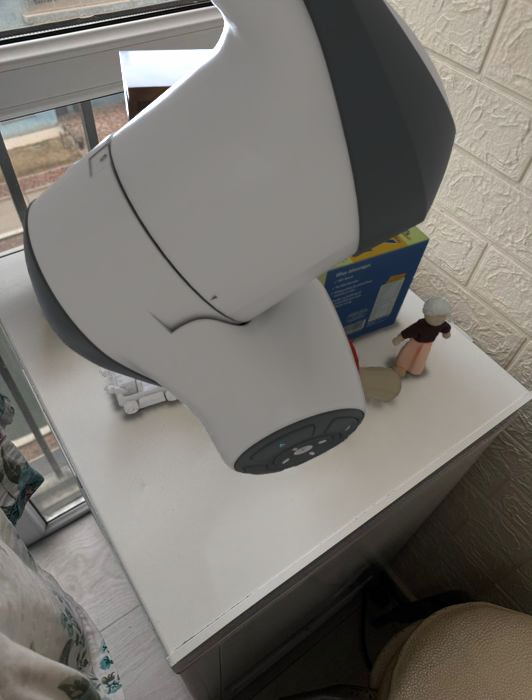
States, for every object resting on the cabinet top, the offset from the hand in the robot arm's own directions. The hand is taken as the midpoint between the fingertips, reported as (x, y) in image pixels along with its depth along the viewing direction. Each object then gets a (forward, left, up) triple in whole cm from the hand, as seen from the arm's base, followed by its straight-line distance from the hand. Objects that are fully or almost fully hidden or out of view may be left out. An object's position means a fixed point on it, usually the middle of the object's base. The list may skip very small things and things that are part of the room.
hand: (194, 139), depth 42 cm
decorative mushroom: (+16, -9, -30) cm, 35 cm away
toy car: (-6, -3, -30) cm, 31 cm away
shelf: (+3, +24, -30) cm, 39 cm away
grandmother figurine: (+27, -7, -30) cm, 41 cm away
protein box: (+20, +4, -30) cm, 36 cm away
